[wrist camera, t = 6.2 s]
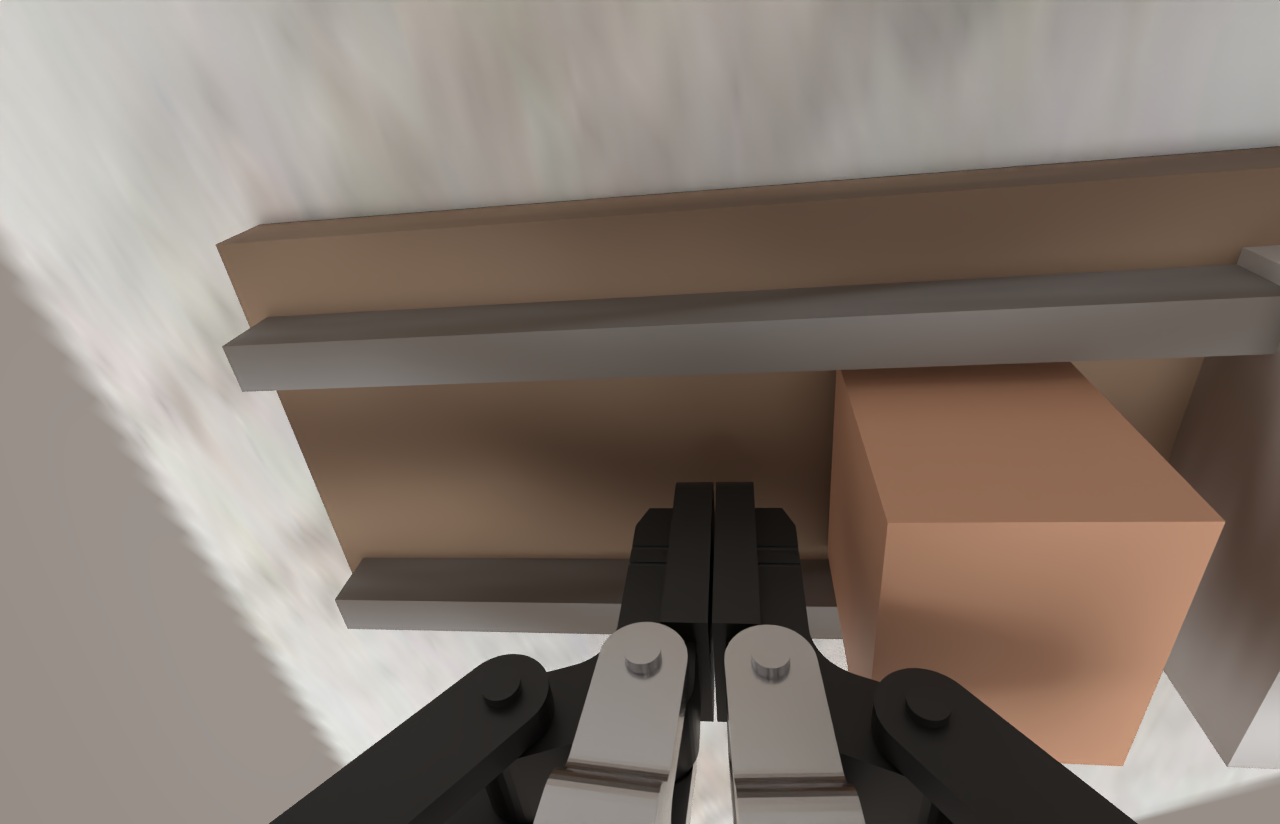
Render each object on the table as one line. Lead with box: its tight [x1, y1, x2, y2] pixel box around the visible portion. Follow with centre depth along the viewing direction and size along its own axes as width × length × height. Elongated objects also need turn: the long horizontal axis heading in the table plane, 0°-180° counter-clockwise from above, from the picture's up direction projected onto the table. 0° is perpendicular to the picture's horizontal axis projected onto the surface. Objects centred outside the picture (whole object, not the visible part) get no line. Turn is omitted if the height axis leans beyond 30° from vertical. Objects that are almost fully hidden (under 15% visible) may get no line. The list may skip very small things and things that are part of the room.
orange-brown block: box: [827, 362, 1225, 766], centre depth 12 cm, size 5×4×5 cm
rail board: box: [216, 147, 1280, 769], centre depth 14 cm, size 11×22×6 cm, turn 96°
